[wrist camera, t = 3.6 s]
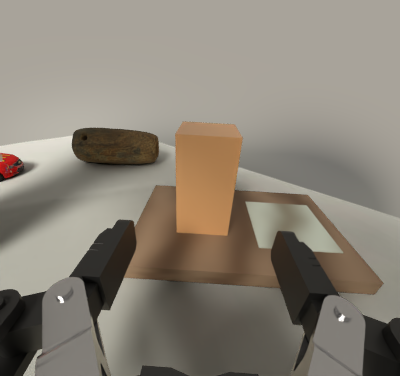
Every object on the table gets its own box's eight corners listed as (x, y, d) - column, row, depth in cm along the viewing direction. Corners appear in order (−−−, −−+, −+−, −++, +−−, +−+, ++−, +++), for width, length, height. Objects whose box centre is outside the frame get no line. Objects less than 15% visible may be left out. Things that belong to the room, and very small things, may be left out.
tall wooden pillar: (176, 232, 20) (175, 134, 15) (182, 204, 25) (183, 121, 20) (227, 235, 20) (242, 137, 15) (223, 206, 24) (234, 124, 20)
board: (118, 277, 17) (98, 192, 13) (156, 194, 29) (152, 137, 25) (374, 294, 17) (438, 213, 13) (304, 203, 29) (325, 147, 25)
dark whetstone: (73, 170, 35) (62, 132, 32) (87, 156, 41) (79, 124, 38) (158, 169, 37) (156, 134, 34) (159, 156, 43) (158, 125, 40)
